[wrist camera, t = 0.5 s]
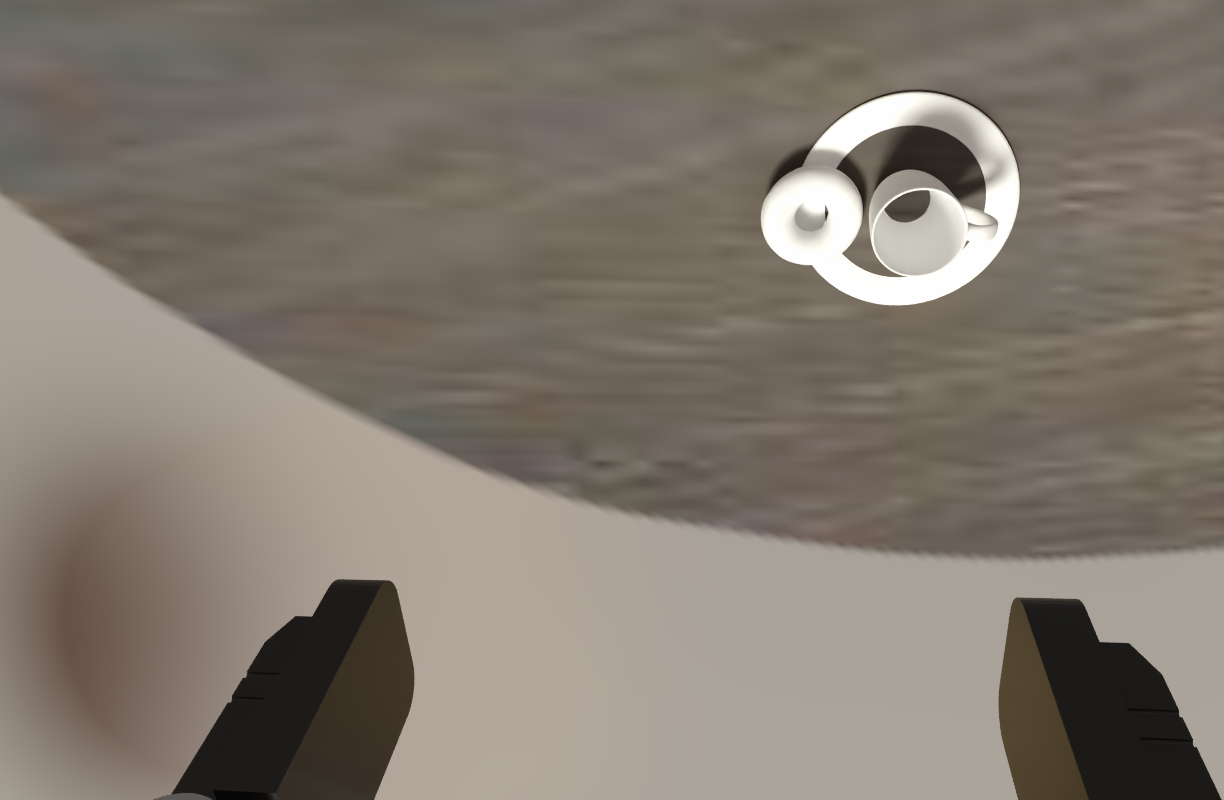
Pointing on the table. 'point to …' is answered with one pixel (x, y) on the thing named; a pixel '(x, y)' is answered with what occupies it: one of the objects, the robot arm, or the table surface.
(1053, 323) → the table surface
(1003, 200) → the teacup and saucer
